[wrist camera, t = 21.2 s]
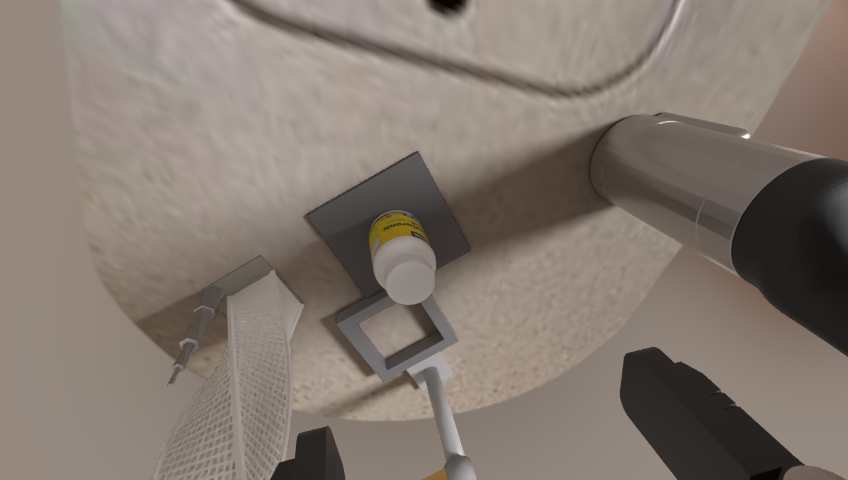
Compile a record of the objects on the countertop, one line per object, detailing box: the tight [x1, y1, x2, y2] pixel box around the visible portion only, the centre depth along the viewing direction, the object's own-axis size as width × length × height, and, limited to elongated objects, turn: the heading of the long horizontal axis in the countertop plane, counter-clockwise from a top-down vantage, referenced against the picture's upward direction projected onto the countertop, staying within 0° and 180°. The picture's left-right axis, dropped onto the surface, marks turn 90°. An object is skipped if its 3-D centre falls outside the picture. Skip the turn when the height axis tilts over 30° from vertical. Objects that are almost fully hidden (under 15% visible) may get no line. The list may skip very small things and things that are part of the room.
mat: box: [307, 151, 471, 299], centre depth 41 cm, size 12×12×1 cm
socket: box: [336, 290, 465, 461], centre depth 42 cm, size 10×15×13 cm, turn 28°
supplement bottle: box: [369, 210, 436, 305], centre depth 37 cm, size 5×5×10 cm
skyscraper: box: [149, 255, 304, 480], centre depth 30 cm, size 8×8×28 cm
